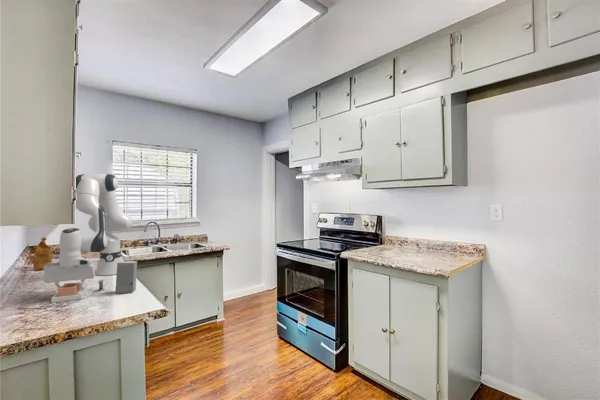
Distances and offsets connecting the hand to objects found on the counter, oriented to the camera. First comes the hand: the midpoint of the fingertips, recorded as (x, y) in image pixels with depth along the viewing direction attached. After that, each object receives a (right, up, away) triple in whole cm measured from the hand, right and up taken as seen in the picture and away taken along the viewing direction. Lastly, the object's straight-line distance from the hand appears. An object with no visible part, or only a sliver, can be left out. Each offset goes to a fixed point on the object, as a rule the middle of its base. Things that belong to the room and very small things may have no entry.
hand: (70, 289), depth 147 cm
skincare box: (+22, -4, +9) cm, 25 cm away
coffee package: (-67, -5, +62) cm, 92 cm away
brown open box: (0, -2, 0) cm, 2 cm away
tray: (0, -4, +1) cm, 4 cm away
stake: (+8, -4, +12) cm, 14 cm away
